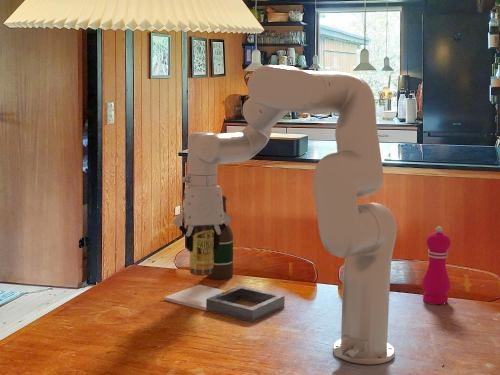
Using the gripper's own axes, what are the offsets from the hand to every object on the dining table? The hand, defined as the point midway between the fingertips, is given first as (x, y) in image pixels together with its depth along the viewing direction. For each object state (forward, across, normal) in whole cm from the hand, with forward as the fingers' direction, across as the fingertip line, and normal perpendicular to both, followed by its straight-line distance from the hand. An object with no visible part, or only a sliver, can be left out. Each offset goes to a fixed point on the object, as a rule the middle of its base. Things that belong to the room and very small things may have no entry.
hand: (202, 248), depth 170 cm
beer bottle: (+14, +10, +18) cm, 25 cm away
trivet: (+13, 0, 0) cm, 13 cm away
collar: (+13, +8, -12) cm, 19 cm away
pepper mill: (+13, +57, -21) cm, 63 cm away
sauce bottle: (+7, 0, 0) cm, 7 cm away
